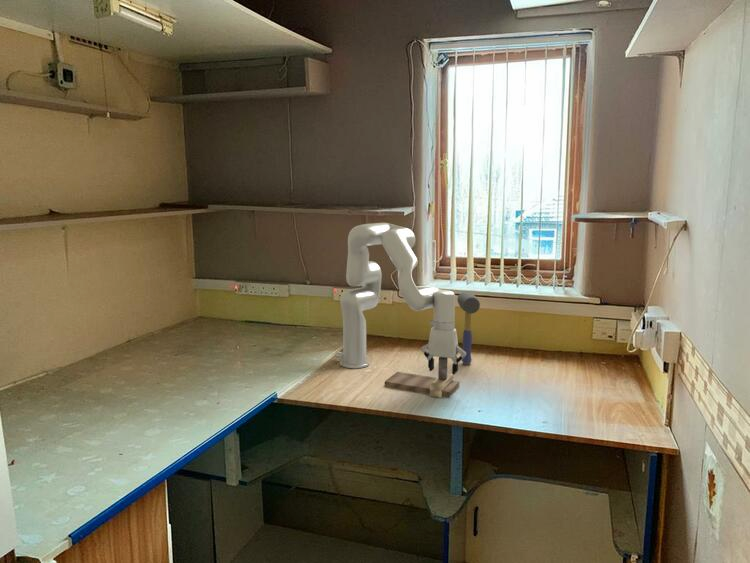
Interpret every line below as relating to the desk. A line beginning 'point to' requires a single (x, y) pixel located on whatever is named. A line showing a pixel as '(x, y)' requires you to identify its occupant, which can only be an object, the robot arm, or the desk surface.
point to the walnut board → (418, 383)
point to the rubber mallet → (468, 321)
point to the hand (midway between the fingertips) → (442, 371)
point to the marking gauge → (441, 378)
